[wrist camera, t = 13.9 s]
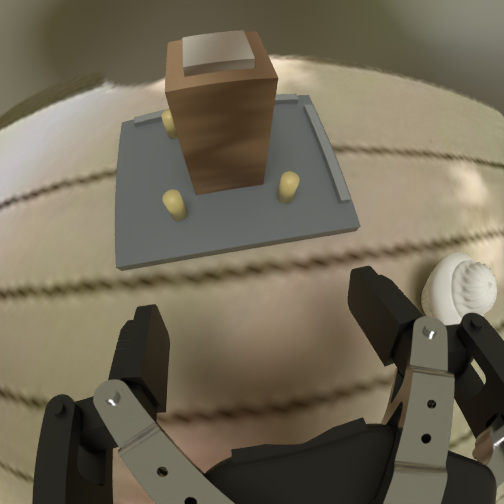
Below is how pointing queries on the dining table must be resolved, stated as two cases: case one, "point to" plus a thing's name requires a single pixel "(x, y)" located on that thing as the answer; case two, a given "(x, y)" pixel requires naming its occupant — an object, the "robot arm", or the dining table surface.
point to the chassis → (226, 192)
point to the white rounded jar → (458, 289)
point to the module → (222, 107)
